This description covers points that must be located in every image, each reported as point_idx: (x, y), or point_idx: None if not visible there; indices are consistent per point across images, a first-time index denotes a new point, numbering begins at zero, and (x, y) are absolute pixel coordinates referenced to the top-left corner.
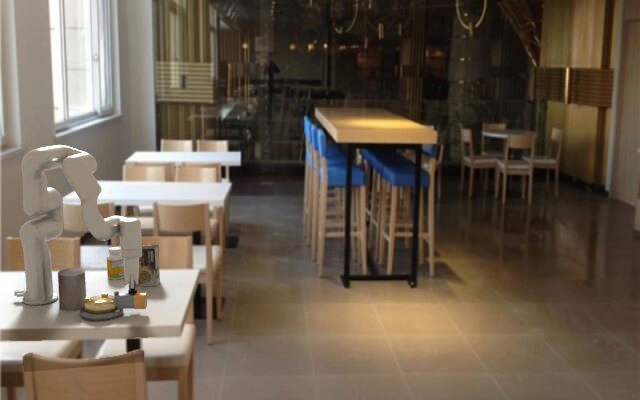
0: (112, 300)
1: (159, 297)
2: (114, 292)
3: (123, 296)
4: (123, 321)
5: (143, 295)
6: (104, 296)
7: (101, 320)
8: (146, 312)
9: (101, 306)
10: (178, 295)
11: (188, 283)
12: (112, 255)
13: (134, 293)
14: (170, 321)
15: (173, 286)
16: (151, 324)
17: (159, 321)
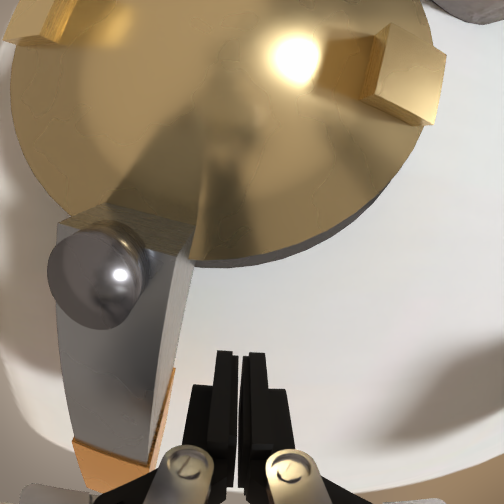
0: (147, 171)
1: (412, 428)
2: (62, 243)
3: (66, 348)
4: (36, 242)
5: (84, 480)
6: (368, 68)
7: None
8: (184, 388)
9: (18, 64)
10: (388, 473)
11: (471, 462)
12: None
13: (143, 460)
14: (58, 431)
15: (482, 437)
16: (16, 367)
17: (51, 403)
